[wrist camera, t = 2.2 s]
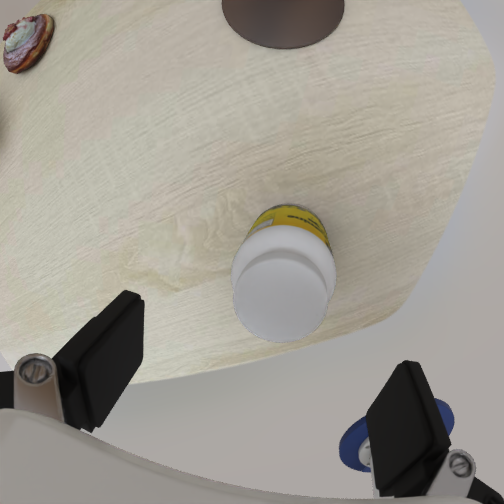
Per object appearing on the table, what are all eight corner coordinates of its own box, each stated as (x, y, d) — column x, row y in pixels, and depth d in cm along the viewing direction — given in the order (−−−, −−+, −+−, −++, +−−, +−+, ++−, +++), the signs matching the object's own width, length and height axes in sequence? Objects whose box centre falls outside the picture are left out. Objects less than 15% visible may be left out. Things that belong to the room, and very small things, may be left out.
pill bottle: (341, 245, 24) (368, 314, 14) (283, 287, 26) (271, 372, 16) (293, 185, 23) (290, 215, 13) (235, 233, 25) (192, 293, 15)
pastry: (56, 4, 19) (28, -6, 15) (55, 53, 22) (23, 46, 17) (14, 37, 21) (-14, 33, 16) (13, 85, 23) (-17, 84, 18)
